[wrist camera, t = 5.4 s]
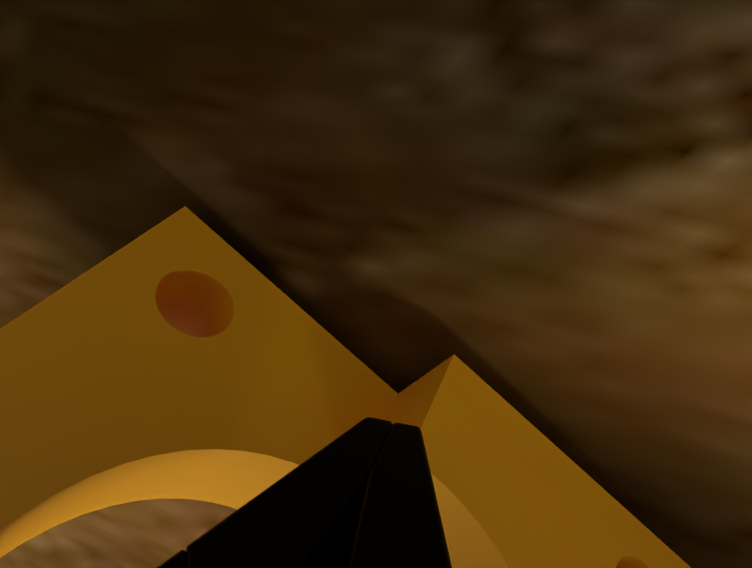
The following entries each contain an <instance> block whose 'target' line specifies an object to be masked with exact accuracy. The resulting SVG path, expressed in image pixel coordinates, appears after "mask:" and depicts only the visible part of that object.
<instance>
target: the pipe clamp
mask: <svg viewBox="0 0 752 568" xmlns="http://www.w3.org/2000/svg"><path fill="white" fill-rule="evenodd" d="M367 417H373V418H378V419H383V420H388V421H391V422H392V423H393V424H394V423H403V424H408V425H413V426H417V427H419V428H420V429H421V431H422V435H423V439H424V444H425V448H426V453H427V457H428V462H429V466H430V471H431V475H432V480H433V484H434V489H435V493H436V498H437V502H438V506H439V511H440V515H441V520H442V524H443V529H444V533H445V538H446V542H447V547H448V551H449V556H450V560H451V565H452V568H691V567H690V566H689V565H688V564H687V563H685V562H684V561H683V560H682V559H681V558H680V557H679V556H678V555H677V554H675V553H674V552H673V551H672V550H671V549H670V548H669V547H668V546H667V545H665V544H664V543H663V542H662V541H661V540H660V539H659V538H658V537H657V536H655V535H654V534H653V533H652V532H651V531H650V530H649V529H648V528H647V527H646V526H644V525H643V524H642V523H641V522H640V521H639V520H638V519H637V518H636V517H634V516H633V515H632V514H631V513H630V512H629V511H628V510H627V509H626V508H624V507H623V506H622V505H621V504H620V503H619V502H618V501H617V500H616V499H614V498H613V497H612V496H611V495H610V494H609V493H608V492H607V491H606V490H604V489H603V488H602V487H601V486H600V485H599V484H598V483H597V482H596V481H594V480H593V479H592V478H591V477H590V476H589V475H588V474H587V473H586V472H584V471H583V470H582V469H581V468H580V467H579V466H578V465H577V464H576V463H574V462H573V461H572V460H571V459H570V458H569V457H568V456H567V455H566V454H564V453H563V452H562V451H561V450H560V449H559V448H558V447H557V446H556V445H554V444H553V443H552V442H551V441H550V440H549V439H548V438H547V437H546V436H544V435H543V434H542V433H541V432H540V431H539V430H538V429H537V428H536V427H534V426H533V425H532V424H531V423H530V422H529V421H528V420H527V419H526V418H524V417H523V416H522V415H521V414H520V413H519V412H518V411H517V410H516V409H514V408H513V407H512V406H511V405H510V404H509V403H508V402H507V401H506V400H505V399H503V398H502V397H501V396H500V395H499V394H498V393H497V392H496V391H495V390H493V389H492V388H491V387H490V386H489V385H488V384H487V383H486V382H485V381H483V380H482V379H481V378H480V377H479V376H478V375H477V374H476V373H475V372H473V371H472V370H471V369H470V368H469V367H468V366H467V365H466V364H465V363H463V362H462V361H461V360H460V359H459V358H458V357H457V356H456V355H455V354H454V355H452V356H451V357H449V358H448V359H447V360H445V361H444V362H442V363H441V364H439V365H438V366H437V367H435V368H434V369H432V370H431V371H430V372H428V373H427V374H425V375H424V376H422V377H421V378H420V379H418V380H417V381H415V382H414V383H413V384H411V385H410V386H408V387H407V388H405V389H404V390H403V391H401V392H400V393H397V392H395V391H394V390H393V389H392V388H391V387H390V386H389V385H388V384H386V383H385V382H384V381H383V380H382V379H381V378H380V377H378V376H377V375H376V374H375V373H374V372H373V371H372V370H371V369H369V368H368V367H367V366H366V365H365V364H364V363H363V362H361V361H360V360H359V359H358V358H357V357H356V356H355V355H354V354H352V353H351V352H350V351H349V350H348V349H347V348H346V347H344V346H343V345H342V344H341V343H340V342H339V341H338V340H337V339H335V338H334V337H333V336H332V335H331V334H330V333H329V332H327V331H326V330H325V329H324V328H323V327H322V326H321V325H320V324H318V323H317V322H316V321H315V320H314V319H313V318H312V317H310V316H309V315H308V314H307V313H306V312H305V311H304V310H303V309H301V308H300V307H299V306H298V305H297V304H296V303H295V302H293V301H292V300H291V299H290V298H289V297H288V296H287V295H286V294H284V293H283V292H282V291H281V290H280V289H279V288H278V287H276V286H275V285H274V284H273V283H272V282H271V281H270V280H269V279H267V278H266V277H265V276H264V275H263V274H262V273H261V272H259V271H258V270H257V269H256V268H255V267H254V266H253V265H252V264H250V263H249V262H248V261H247V260H246V259H245V258H244V257H242V256H241V255H240V254H239V253H238V252H237V251H236V250H235V249H233V248H232V247H231V246H230V245H229V244H228V243H227V242H225V241H224V240H223V239H222V238H221V237H220V236H219V235H218V234H216V233H215V232H214V231H213V230H212V229H211V228H210V227H208V226H207V225H206V224H205V223H204V222H203V221H202V220H201V219H199V218H198V217H197V216H196V215H195V214H194V213H193V212H191V211H190V210H189V209H188V208H187V207H186V206H185V207H183V208H182V209H180V210H179V211H177V212H175V213H174V214H172V215H171V216H169V217H168V218H166V219H165V220H163V221H162V222H160V223H159V224H157V225H156V226H154V227H153V228H151V229H150V230H148V231H147V232H145V233H144V234H142V235H141V236H139V237H138V238H136V239H135V240H133V241H132V242H130V243H129V244H127V245H126V246H124V247H123V248H121V249H120V250H118V251H117V252H115V253H114V254H112V255H111V256H109V257H108V258H106V259H105V260H103V261H102V262H100V263H99V264H97V265H96V266H94V267H93V268H91V269H89V270H88V271H86V272H85V273H83V274H82V275H80V276H79V277H77V278H76V279H74V280H73V281H71V282H70V283H68V284H67V285H65V286H64V287H62V288H61V289H59V290H58V291H56V292H55V293H53V294H52V295H50V296H49V297H47V298H46V299H44V300H43V301H41V302H40V303H38V304H37V305H35V306H34V307H32V308H31V309H29V310H28V311H26V312H25V313H23V314H22V315H20V316H19V317H17V318H16V319H14V320H13V321H11V322H10V323H8V324H7V325H5V326H3V327H2V328H0V558H1V557H2V556H4V555H5V554H7V553H8V552H10V551H11V550H13V549H14V548H16V547H18V546H19V545H21V544H22V543H24V542H25V541H27V540H29V539H31V538H33V537H35V536H37V535H39V534H41V533H42V532H44V531H46V530H48V529H50V528H52V527H54V526H56V525H59V524H61V523H63V522H66V521H68V520H71V519H73V518H75V517H78V516H80V515H83V514H86V513H89V512H92V511H96V510H99V509H102V508H105V507H109V506H113V505H118V504H123V503H128V502H133V501H139V500H150V499H161V498H168V499H192V500H199V501H207V502H212V503H216V504H220V505H224V506H228V507H232V508H234V509H237V510H238V509H239V508H241V507H242V506H243V505H245V504H246V503H247V502H249V501H250V500H252V499H253V498H254V497H256V496H257V495H259V494H260V493H261V492H263V491H264V490H266V489H267V488H268V487H270V486H271V485H272V484H274V483H275V482H277V481H278V480H279V479H281V478H282V477H284V476H285V475H286V474H288V473H289V472H290V471H292V470H293V469H295V468H296V467H297V466H299V465H300V464H302V463H303V462H304V461H306V460H307V459H309V458H310V457H311V456H313V455H314V454H315V453H317V452H318V451H320V450H321V449H322V448H324V447H325V446H327V445H328V444H329V443H331V442H332V441H334V440H335V439H336V438H338V437H339V436H340V435H342V434H343V433H345V432H346V431H347V430H349V429H350V428H352V427H353V426H354V425H356V424H357V423H358V422H360V421H361V420H363V419H364V418H367Z"/></svg>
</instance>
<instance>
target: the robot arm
mask: <svg viewBox="0 0 752 568" xmlns="http://www.w3.org/2000/svg"><path fill="white" fill-rule="evenodd" d="M157 568H452V565H451V560H450V556H449V551H448V547H447V542H446V538H445V533H444V529H443V524H442V520H441V515H440V511H439V506H438V502H437V498H436V493H435V489H434V484H433V480H432V475H431V471H430V466H429V462H428V457H427V453H426V448H425V444H424V439H423V435H422V431H421V429H420V428H419V427H417V426H413V425H408V424H403V423H394V424H393V423H392V422H391V421H388V420H383V419H378V418H373V417H367V418H364V419H363V420H361V421H360V422H358V423H357V424H356V425H354V426H353V427H352V428H350V429H349V430H347V431H346V432H345V433H343V434H342V435H340V436H339V437H338V438H336V439H335V440H334V441H332V442H331V443H329V444H328V445H327V446H325V447H324V448H322V449H321V450H320V451H318V452H317V453H315V454H314V455H313V456H311V457H310V458H309V459H307V460H306V461H304V462H303V463H302V464H300V465H299V466H297V467H296V468H295V469H293V470H292V471H290V472H289V473H288V474H286V475H285V476H284V477H282V478H281V479H279V480H278V481H277V482H275V483H274V484H272V485H271V486H270V487H268V488H267V489H266V490H264V491H263V492H261V493H260V494H259V495H257V496H256V497H254V498H253V499H252V500H250V501H249V502H247V503H246V504H245V505H243V506H242V507H241V508H239V509H238V510H236V511H235V512H234V513H232V514H231V515H229V516H228V517H227V518H225V519H224V520H223V521H221V522H220V523H218V524H217V525H216V526H214V527H213V528H211V529H210V530H209V531H207V532H206V533H204V534H203V535H202V536H200V537H199V538H198V539H196V540H195V541H193V542H192V543H191V544H189V545H188V546H187V548H186V551H185V550H181V551H179V552H178V553H176V554H175V555H174V556H172V557H171V558H169V559H168V560H167V561H165V562H164V563H162V564H161V565H160V566H158V567H157Z"/></svg>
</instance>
